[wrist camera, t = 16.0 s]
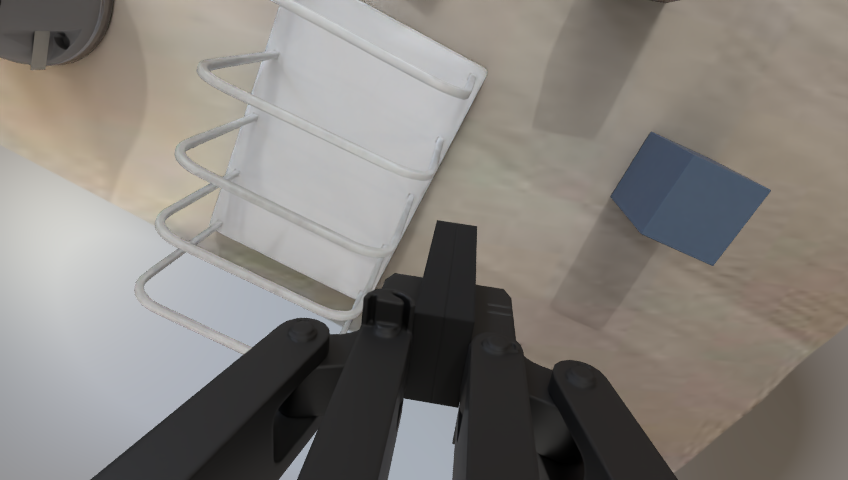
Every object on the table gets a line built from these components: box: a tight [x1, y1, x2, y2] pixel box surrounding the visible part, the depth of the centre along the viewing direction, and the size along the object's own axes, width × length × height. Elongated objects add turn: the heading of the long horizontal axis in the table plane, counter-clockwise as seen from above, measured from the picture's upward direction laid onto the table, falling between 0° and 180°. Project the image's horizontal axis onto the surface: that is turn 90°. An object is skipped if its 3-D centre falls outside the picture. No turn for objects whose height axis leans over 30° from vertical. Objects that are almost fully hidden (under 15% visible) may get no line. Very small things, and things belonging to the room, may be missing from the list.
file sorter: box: [134, 0, 487, 355], centre depth 37 cm, size 25×17×16 cm
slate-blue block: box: [611, 132, 771, 266], centre depth 38 cm, size 6×6×9 cm
